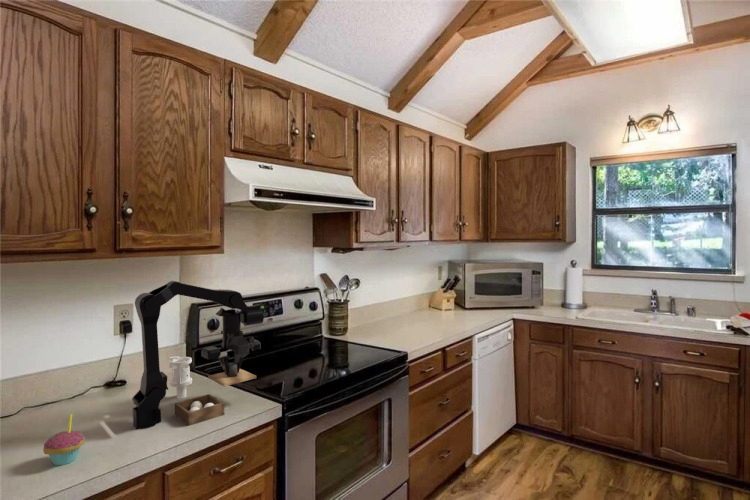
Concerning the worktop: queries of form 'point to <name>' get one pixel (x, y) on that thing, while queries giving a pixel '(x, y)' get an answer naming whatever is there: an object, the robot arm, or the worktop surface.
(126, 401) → the worktop surface
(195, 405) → the egg
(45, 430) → the worktop surface
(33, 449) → the worktop surface
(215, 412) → the box
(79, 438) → the cupcake
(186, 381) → the white tall flanged cylinder
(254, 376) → the lid
